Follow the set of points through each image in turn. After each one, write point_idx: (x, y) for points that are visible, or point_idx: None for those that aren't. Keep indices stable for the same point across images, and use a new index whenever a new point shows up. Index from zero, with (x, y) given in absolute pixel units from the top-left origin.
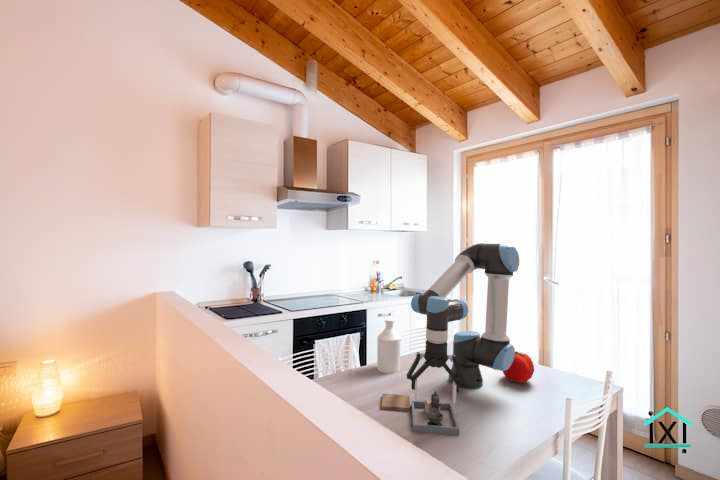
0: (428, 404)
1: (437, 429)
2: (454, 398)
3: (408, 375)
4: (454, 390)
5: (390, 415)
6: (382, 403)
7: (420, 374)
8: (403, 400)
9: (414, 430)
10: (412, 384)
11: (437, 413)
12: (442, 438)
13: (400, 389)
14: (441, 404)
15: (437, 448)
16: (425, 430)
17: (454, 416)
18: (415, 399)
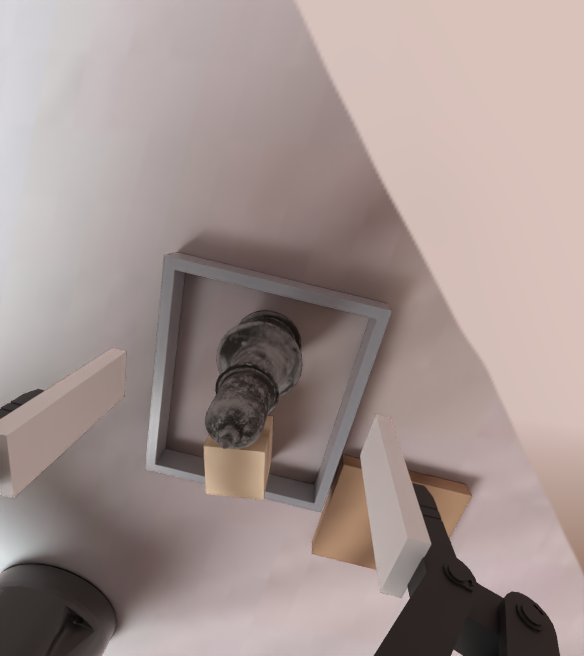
0: (265, 448)
1: (274, 279)
2: (100, 364)
3: (548, 649)
4: (53, 399)
5: (444, 434)
6: (458, 513)
7: (388, 640)
8: (352, 522)
9: (381, 302)
10: (438, 526)
11: (249, 347)
12: (267, 226)
13: (326, 601)
14: (193, 469)
15: (321, 139)
16: (331, 291)
17: (161, 364)
18: (385, 419)
